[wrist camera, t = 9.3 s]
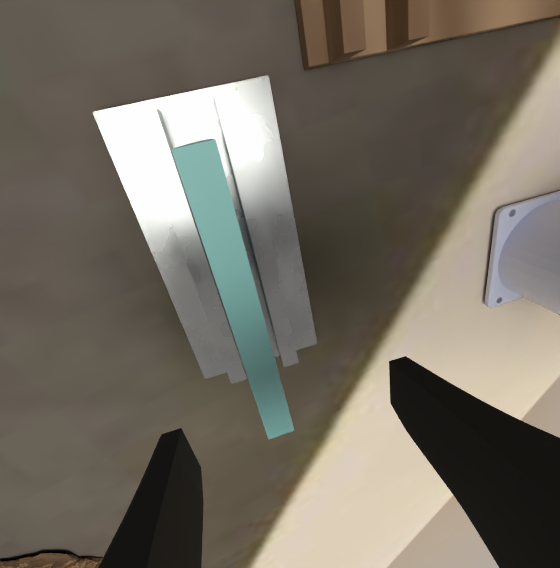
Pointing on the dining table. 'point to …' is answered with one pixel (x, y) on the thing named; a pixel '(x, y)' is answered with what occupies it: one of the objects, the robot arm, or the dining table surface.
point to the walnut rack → (402, 24)
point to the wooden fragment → (53, 561)
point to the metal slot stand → (247, 203)
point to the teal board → (233, 276)
